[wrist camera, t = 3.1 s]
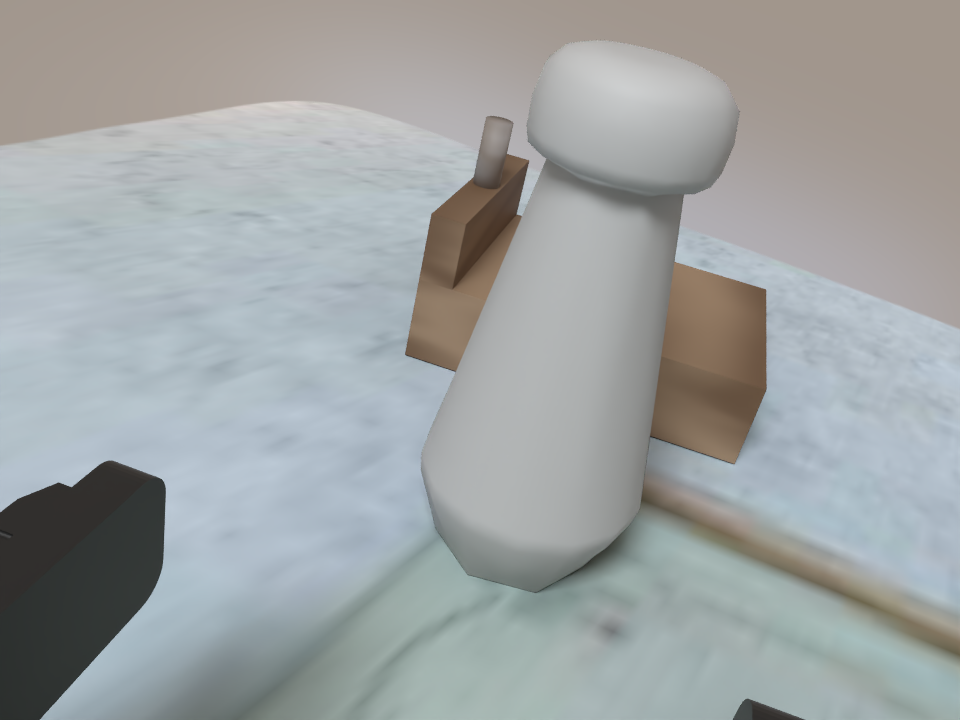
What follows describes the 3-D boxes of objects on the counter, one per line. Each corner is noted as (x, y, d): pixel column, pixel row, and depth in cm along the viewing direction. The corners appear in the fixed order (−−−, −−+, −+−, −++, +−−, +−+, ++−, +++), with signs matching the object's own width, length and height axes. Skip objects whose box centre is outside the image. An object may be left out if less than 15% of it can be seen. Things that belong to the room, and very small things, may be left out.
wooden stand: (740, 352, 38) (811, 177, 34) (734, 463, 30) (824, 253, 26) (475, 269, 39) (514, 95, 36) (404, 354, 32) (444, 143, 28)
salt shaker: (594, 484, 27) (740, 54, 21) (635, 626, 22) (841, 120, 16) (406, 460, 26) (499, 3, 20) (405, 604, 21) (528, 57, 15)
